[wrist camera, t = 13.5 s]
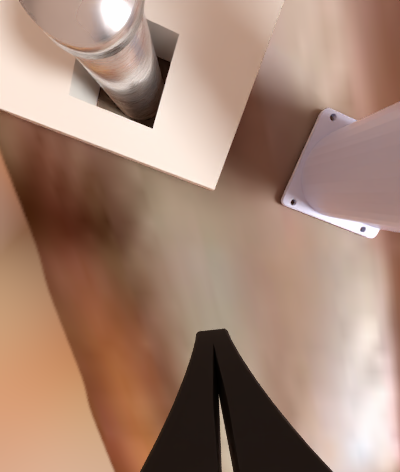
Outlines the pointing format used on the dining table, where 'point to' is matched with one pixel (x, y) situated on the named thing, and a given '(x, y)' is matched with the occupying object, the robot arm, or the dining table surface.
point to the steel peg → (107, 47)
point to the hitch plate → (175, 90)
